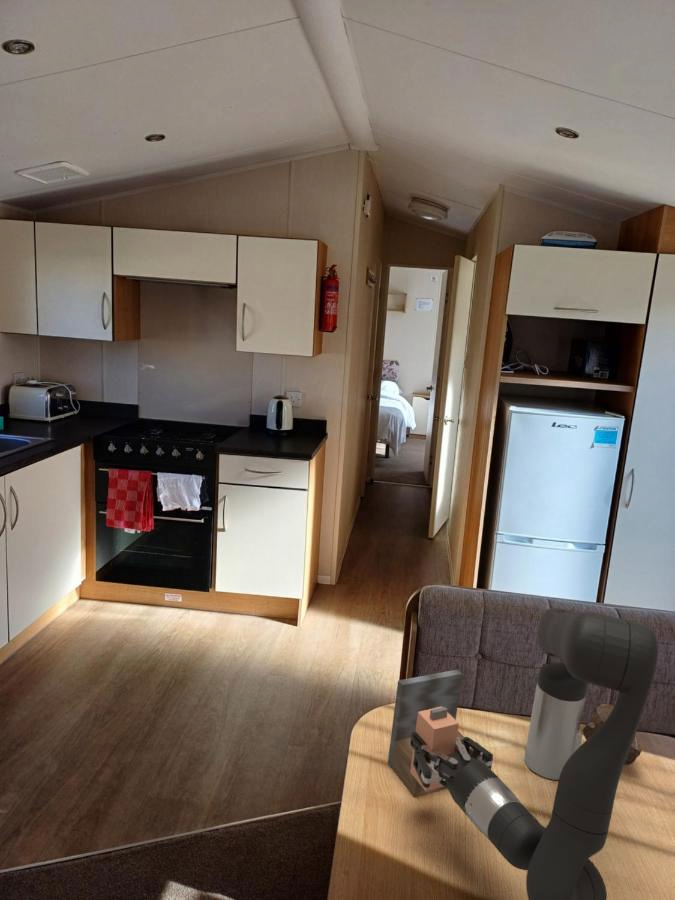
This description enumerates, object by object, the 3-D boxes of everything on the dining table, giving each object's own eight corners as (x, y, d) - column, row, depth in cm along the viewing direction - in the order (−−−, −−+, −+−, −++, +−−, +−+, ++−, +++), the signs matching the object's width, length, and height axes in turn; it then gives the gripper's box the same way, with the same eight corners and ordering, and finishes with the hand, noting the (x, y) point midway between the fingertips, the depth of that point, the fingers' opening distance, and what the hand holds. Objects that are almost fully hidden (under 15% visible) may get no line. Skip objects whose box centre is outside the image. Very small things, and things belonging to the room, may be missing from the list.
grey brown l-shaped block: (446, 748, 135) (457, 669, 131) (475, 780, 126) (488, 696, 122) (387, 763, 128) (398, 680, 125) (414, 797, 120) (426, 709, 116)
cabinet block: (433, 765, 117) (442, 698, 114) (449, 784, 113) (459, 715, 110) (410, 772, 115) (418, 704, 112) (425, 791, 111) (435, 721, 108)
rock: (654, 759, 130) (624, 738, 127) (614, 787, 133) (584, 767, 129) (623, 709, 141) (596, 689, 138) (587, 737, 144) (559, 717, 140)
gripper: (526, 769, 102) (461, 706, 117) (451, 791, 96) (393, 722, 111) (519, 809, 104) (456, 743, 119) (445, 834, 98) (388, 761, 113)
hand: (426, 733), depth 115 cm, fingers closed on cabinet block, 5 cm apart
